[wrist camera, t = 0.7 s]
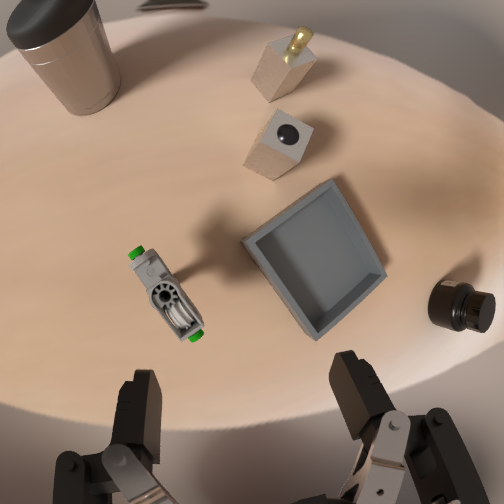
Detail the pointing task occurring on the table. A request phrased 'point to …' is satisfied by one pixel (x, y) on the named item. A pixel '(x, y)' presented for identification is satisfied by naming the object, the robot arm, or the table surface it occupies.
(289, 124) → the block
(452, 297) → the ink bottle
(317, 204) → the tray
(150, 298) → the mechanical component
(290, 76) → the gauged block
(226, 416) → the table surface
